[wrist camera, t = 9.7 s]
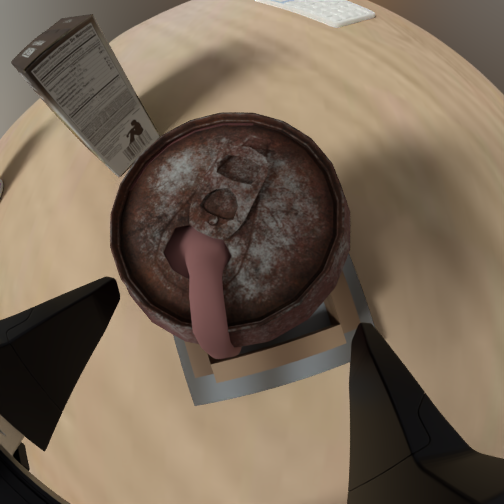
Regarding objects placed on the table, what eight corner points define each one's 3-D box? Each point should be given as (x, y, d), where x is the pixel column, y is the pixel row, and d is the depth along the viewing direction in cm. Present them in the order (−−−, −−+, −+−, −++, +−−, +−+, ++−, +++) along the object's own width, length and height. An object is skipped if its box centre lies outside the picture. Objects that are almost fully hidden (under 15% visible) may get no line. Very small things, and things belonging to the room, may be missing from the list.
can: (224, 344, 18) (104, 373, 5) (211, 257, 20) (107, 135, 7) (311, 329, 18) (397, 329, 5) (293, 242, 20) (314, 87, 6)
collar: (198, 402, 18) (180, 417, 14) (156, 235, 22) (134, 217, 18) (376, 347, 18) (397, 351, 14) (315, 184, 22) (320, 157, 18)
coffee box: (85, 147, 27) (9, 61, 11) (122, 110, 28) (62, 16, 12) (118, 180, 24) (19, 71, 9) (163, 135, 25) (93, 10, 10)
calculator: (336, 31, 30) (337, 22, 28) (251, 2, 35) (250, -5, 33) (376, 19, 31) (378, 11, 30) (297, -10, 37) (297, -16, 35)
